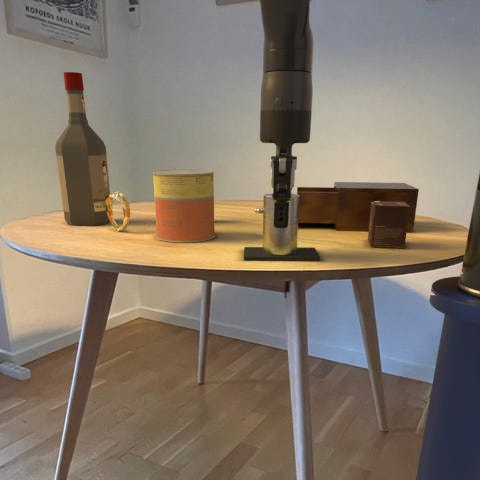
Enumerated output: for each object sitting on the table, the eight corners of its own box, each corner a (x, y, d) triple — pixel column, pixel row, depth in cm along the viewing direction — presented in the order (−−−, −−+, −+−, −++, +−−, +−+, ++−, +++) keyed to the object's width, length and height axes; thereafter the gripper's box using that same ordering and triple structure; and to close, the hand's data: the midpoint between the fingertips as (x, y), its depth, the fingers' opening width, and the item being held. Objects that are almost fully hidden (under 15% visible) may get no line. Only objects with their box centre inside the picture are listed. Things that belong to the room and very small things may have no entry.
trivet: (314, 250, 80) (314, 247, 79) (320, 260, 73) (320, 257, 73) (244, 250, 80) (244, 246, 80) (243, 260, 73) (243, 256, 73)
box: (405, 248, 81) (410, 205, 79) (369, 247, 82) (373, 204, 80) (400, 241, 87) (405, 201, 84) (367, 240, 88) (371, 200, 85)
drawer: (265, 223, 99) (266, 190, 97) (268, 215, 111) (269, 185, 108) (353, 226, 97) (356, 192, 95) (347, 216, 109) (350, 186, 106)
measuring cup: (252, 255, 74) (253, 196, 71) (255, 247, 79) (256, 192, 76) (296, 256, 73) (299, 197, 70) (296, 248, 79) (299, 193, 75)
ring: (135, 232, 94) (132, 191, 91) (120, 234, 92) (117, 192, 89) (118, 227, 99) (115, 188, 96) (104, 229, 97) (100, 189, 94)
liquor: (62, 225, 101) (41, 70, 90) (75, 218, 110) (58, 75, 99) (104, 225, 101) (88, 70, 90) (114, 219, 110) (101, 76, 99)
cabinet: (335, 230, 97) (339, 187, 94) (331, 219, 110) (334, 181, 107) (413, 232, 96) (419, 188, 93) (399, 221, 108) (404, 182, 105)
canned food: (226, 236, 91) (226, 171, 87) (183, 245, 83) (180, 175, 79) (188, 229, 98) (185, 169, 94) (144, 236, 90) (139, 171, 86)
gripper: (313, 105, 61) (305, 233, 68) (310, 111, 75) (304, 217, 81) (256, 105, 62) (254, 232, 68) (263, 111, 76) (261, 216, 82)
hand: (281, 223), depth 75 cm, fingers closed on measuring cup, 5 cm apart
